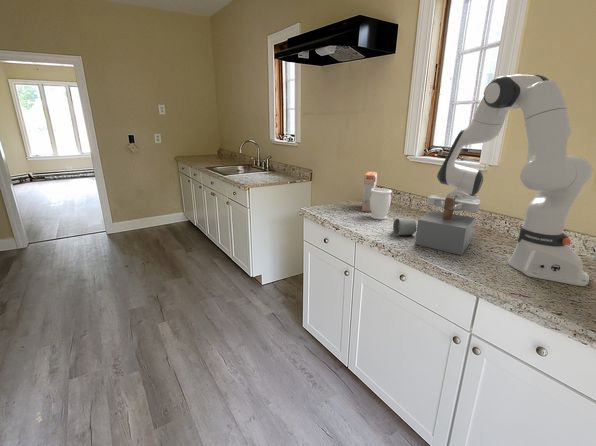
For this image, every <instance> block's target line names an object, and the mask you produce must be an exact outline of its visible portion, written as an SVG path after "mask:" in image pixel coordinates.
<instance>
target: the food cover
mask: <svg viewBox="0 0 596 446" xmlns="http://www.w3.org/2000/svg"><path fill="white" fill-rule="evenodd" d="M446 196H447V195H446ZM455 198H456V197H450V196H447V197H446V199H445V205H444V208H443V211H437V210H430V211H428V212H427V213H425V214H424V215H423V216H421V217H420V218H418V219H417V224H416V232H415V233H416V235H415V242H414V245H417V246H422V247H425V248H428V249H429V248H430V249H434V250H437V251H441V252H447V253H450V254H455V255H460V256H462V255H463V254H464V253H465V251H466V249H467V248H468V246H469V245H470V244H471V242H472V238H473V233H474V228H475V227H474V226H475V224H476V223H475V222H476V217H473V216H465V215H460V214H454V211H453V209H452V208H453V205H454V204H455Z"/></svg>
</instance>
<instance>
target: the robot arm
mask: <svg viewBox="0 0 596 446" xmlns="http://www.w3.org/2000/svg"><path fill="white" fill-rule="evenodd" d="M477 104H478V105H477V106H476V109H475V111H474V114H473V117H472V120H471V122H470V124H468V126H467V127H465V128H463V129H461V130H460V131H459V133H458V134H457V136H456V137H455V138H454V139H455V140H454V141H453V144H452V145H451V147H450V149H449V151H448V153H447V155H446V157H445V160H444V161H443V163H442V165H441V166H440V167H439V168H438V172H437V174H436V175H437V176H436V178H437V180H438V181H439V183H440V184H442V185H446V186H452V187H455V189H453V190H452V191H451V192H449V193H448V194H447V195H443V194H442V195H439V194H431V195H429V196H428V197H427V200H426V201H427V202H426V204H427V205H428V206H434V207H438V208H439V207H440V208H441V209H442V208H443V209H444V205H445V199H446V197H447V196H450V197H456V198H455V204H454V205H453V208H452V209H453V212H470V213H479V212H480V208H481V203H482V202H481V197H480V196H479V195H477V194H478V193H479V191H480V189H481V188H482V184H483V182H484V176H483V173H482V171H481V170H479V169H476V168H473V167H468V166H464V165H460V164H457V163H456V161H457V158H458V157H459V155H460V153H461V152H462V149H463V148H464V147H466V146H469V145H476V144H477V145H478V144H483V143H486V142H490V141H492V140H494V139H495V138H497V136H499V134H500V132H501V130H502V128H503V126H504V123H505V120H506V116H507V114H508V112H509V111H510V110H511V109H521V110H522V115H523V120H524V125H525V131H526V136H527V143H528V144H527V145H528V147H527V149H528V150H527V157H526V161H525V164H524V165H523V167H522V169H521V170H520V174H519V175H520V181H521V184H522V185H523V186H524V187H526V189H528V190H531V191H536V192H537V193H536V194H535V196H534V198H533V199H532V200H531V201H530V202H529V203H528V204H527V206H526V210H525V215H524V218H523V222H522V225H521V226H520V228H519V230H518V235H517V241H516V243H517V244H516V245H515V249H514V250H513V253H512V254H511V256H510V258H509V260H508V261H507V263H508V264H509V266H510V267H512V268H513V269H516V270H517V271H519V272H521V273H523V274H524V275H526V276H527V277H530V278H535V279H541V280H547V281H551V282H558V283H562V284H567V285H573V286H580V287H585V286H587V285H588V284H589V282H590V277H589V274H588V273H587V272H586V271H584V270H583V268H584V264H583V260H582V259H581V257H580V256H579V255H578V254H577V253H576V252H575V251H574V250H573V249H571V248H570V247H569V245H570V244H572V243H571V238H570V237H569V235H568V234H567V233H564V232H563V231H564V227H565V225H566V221H567V219H568V218H567V217H568V215H569V211H570V209H571V207H572V206H573V203H574V202H575V200H576V198H577V196H578V195H579V193H580V191H581V189H582V188H583V186H584V185H585V184H586V183H587V182H588V181H589V180H590V179H591V177H592V176H593V172H594V171H593V166H592V163H591V162H589V161H588V160H587V159H586V158H585V159H584V158H582V157H579V156H576V155H567V146H568V145H567V144H568V141H569V139H570V137H571V134H572V129H571V124H570V119H569V115H568V109H567V105H566V101H565V99H564V95H563V92H562V91H561V88H560V87H559V85H558V83H557V82H555V81H553V80H549V78H547V77H546V76H543V75H540V74H533V75H531V74H519V73H518V74H512V75H511V74H510V75H501V76H497V77H495V78H493V79H491V80H490V81H489V82H488V83H487V84H486V86H485V88H484V91H483V95H482V97H481V98H480V100H479V103H477Z"/></svg>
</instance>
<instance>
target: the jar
mask: <svg viewBox="0 0 596 446" xmlns="http://www.w3.org/2000/svg"><path fill="white" fill-rule="evenodd" d="M371 192H372V194H371V197H370V209H371V212H370V213H371V215H370V218H371V219H375V220H386V219H388V216H387V215H388V213H389V212H390V207H391V204H392V203H391V201H392V195H391V194H392V192H393V191H392V190H391V189H389V188H384V187H376V188H373V189H371Z"/></svg>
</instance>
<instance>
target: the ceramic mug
mask: <svg viewBox="0 0 596 446" xmlns="http://www.w3.org/2000/svg"><path fill="white" fill-rule="evenodd" d="M392 225H393V226H392V230H393V233H394V235H395V236H412V235H414V234H415V233H417V222H416V221H415V220H414V219H412V218H399V217H398V218H395V219H394V221H393V224H392Z"/></svg>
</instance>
